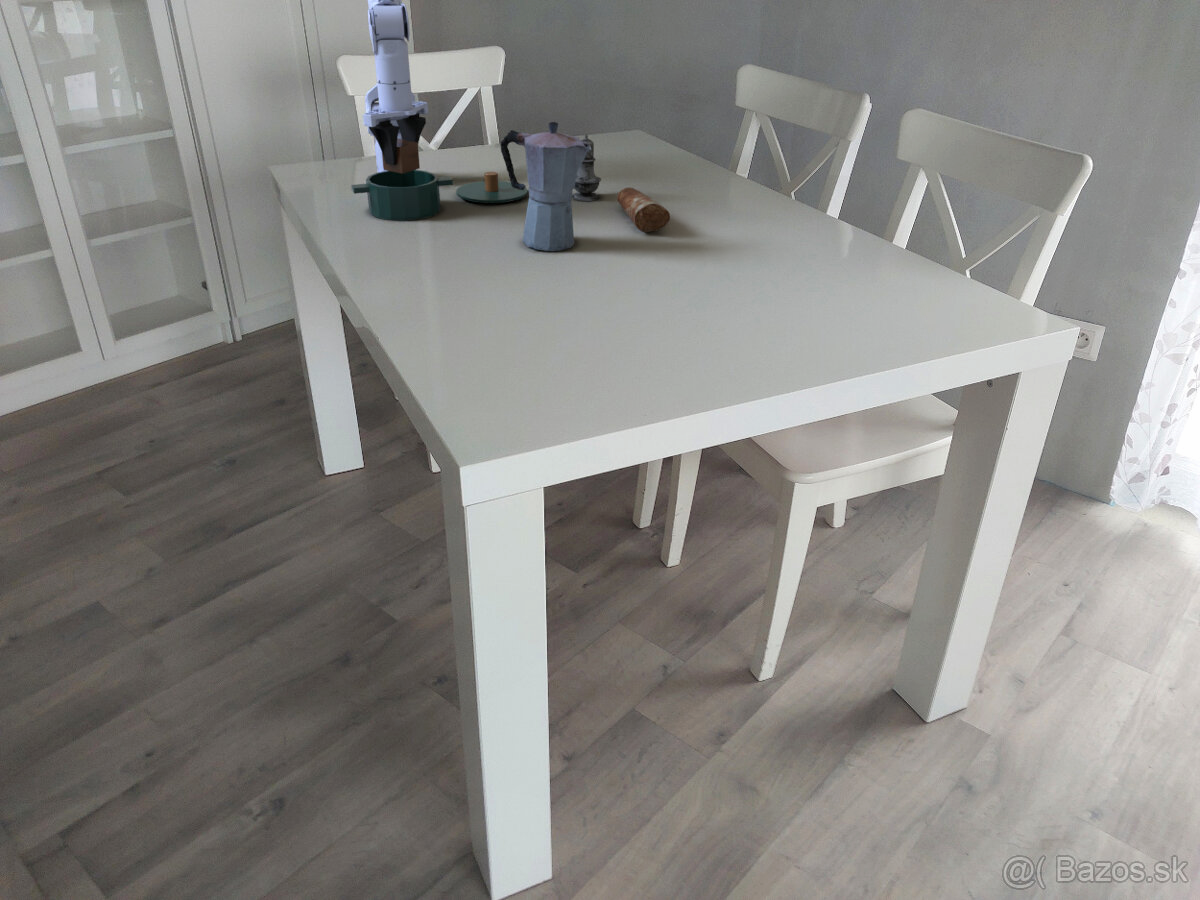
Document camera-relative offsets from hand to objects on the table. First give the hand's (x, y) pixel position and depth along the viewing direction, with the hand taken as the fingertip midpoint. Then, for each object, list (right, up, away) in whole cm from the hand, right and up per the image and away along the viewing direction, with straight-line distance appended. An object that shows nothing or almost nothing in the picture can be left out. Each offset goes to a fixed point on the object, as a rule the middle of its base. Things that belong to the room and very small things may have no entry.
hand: (400, 161), depth 169 cm
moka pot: (+27, -17, -10) cm, 34 cm away
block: (0, -1, +1) cm, 1 cm away
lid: (+15, -2, +14) cm, 20 cm away
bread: (+43, -10, +2) cm, 44 cm away
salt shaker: (+33, -3, +14) cm, 36 cm away
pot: (0, -8, +5) cm, 9 cm away
